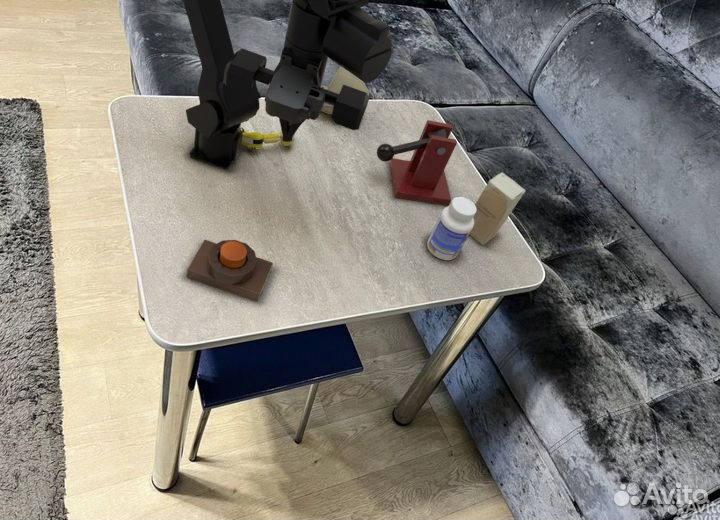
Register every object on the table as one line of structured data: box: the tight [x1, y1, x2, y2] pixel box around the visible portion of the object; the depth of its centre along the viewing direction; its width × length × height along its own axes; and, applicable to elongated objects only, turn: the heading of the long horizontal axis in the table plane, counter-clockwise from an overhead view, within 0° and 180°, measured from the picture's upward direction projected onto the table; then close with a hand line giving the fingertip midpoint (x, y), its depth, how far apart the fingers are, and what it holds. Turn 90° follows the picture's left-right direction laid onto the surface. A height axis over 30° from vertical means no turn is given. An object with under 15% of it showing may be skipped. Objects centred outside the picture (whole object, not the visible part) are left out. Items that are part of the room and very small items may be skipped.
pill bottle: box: [426, 196, 476, 261], centre depth 92 cm, size 5×5×10 cm
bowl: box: [321, 65, 370, 116], centre depth 110 cm, size 10×10×7 cm
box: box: [469, 171, 526, 246], centre depth 97 cm, size 5×4×11 cm
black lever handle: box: [376, 129, 447, 163], centre depth 98 cm, size 12×3×3 cm, turn 94°
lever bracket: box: [388, 119, 458, 206], centre depth 101 cm, size 10×9×12 cm
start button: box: [220, 241, 247, 269], centre depth 78 cm, size 3×3×2 cm
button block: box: [186, 239, 274, 302], centre depth 80 cm, size 10×6×4 cm, turn 78°
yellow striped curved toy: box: [240, 127, 295, 151], centre depth 100 cm, size 10×6×4 cm, turn 117°
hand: (287, 139), depth 84 cm, fingers closed
